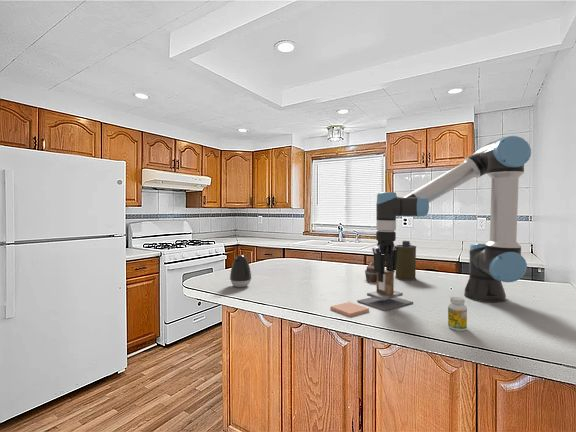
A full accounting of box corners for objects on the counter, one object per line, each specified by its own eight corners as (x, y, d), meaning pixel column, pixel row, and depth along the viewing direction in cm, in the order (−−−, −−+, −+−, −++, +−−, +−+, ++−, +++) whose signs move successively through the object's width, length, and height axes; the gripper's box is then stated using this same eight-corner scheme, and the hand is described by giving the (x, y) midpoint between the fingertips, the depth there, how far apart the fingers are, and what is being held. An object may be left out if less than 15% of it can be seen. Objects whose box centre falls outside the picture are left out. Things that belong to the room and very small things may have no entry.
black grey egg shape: (225, 287, 157) (225, 255, 156) (237, 282, 166) (236, 252, 166) (244, 289, 153) (244, 257, 152) (255, 284, 163) (255, 254, 162)
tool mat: (413, 303, 132) (413, 301, 132) (385, 311, 123) (385, 309, 123) (384, 295, 144) (384, 294, 144) (357, 301, 134) (357, 300, 134)
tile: (369, 308, 122) (349, 313, 116) (368, 312, 122) (349, 318, 116) (349, 301, 130) (330, 306, 124) (349, 306, 130) (330, 310, 124)
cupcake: (368, 277, 179) (368, 259, 179) (386, 279, 173) (386, 261, 173) (361, 280, 171) (361, 261, 171) (379, 283, 166) (380, 263, 165)
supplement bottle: (470, 329, 105) (471, 299, 104) (458, 332, 102) (459, 301, 102) (455, 324, 109) (456, 295, 109) (444, 326, 107) (444, 297, 107)
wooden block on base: (386, 291, 140) (386, 267, 139) (402, 295, 133) (403, 270, 133) (367, 295, 133) (367, 270, 133) (383, 300, 126) (383, 274, 126)
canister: (413, 281, 170) (414, 242, 169) (393, 278, 176) (393, 241, 175) (417, 277, 179) (418, 240, 179) (398, 275, 185) (398, 239, 184)
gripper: (391, 229, 140) (390, 284, 141) (364, 231, 131) (364, 290, 131) (406, 230, 134) (405, 288, 134) (379, 232, 124) (379, 294, 125)
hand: (385, 289), depth 133 cm, fingers closed on wooden block on base, 3 cm apart
